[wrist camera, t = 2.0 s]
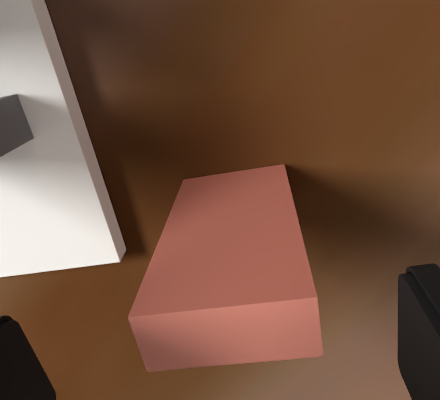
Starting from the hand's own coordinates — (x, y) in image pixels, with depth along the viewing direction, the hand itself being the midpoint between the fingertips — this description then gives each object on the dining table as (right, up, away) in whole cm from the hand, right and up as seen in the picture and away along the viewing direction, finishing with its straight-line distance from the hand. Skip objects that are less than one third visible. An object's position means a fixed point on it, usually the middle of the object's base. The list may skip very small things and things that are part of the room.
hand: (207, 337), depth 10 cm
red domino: (+1, +4, +10) cm, 11 cm away
